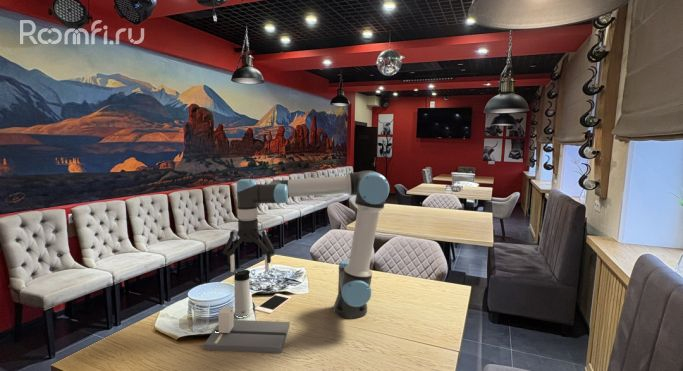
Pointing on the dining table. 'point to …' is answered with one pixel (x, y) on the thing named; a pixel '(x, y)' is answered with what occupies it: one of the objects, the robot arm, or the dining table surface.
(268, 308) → the cell phone
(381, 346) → the dining table surface
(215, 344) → the slider panel
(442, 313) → the dining table surface
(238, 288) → the travel mug
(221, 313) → the slider handle
